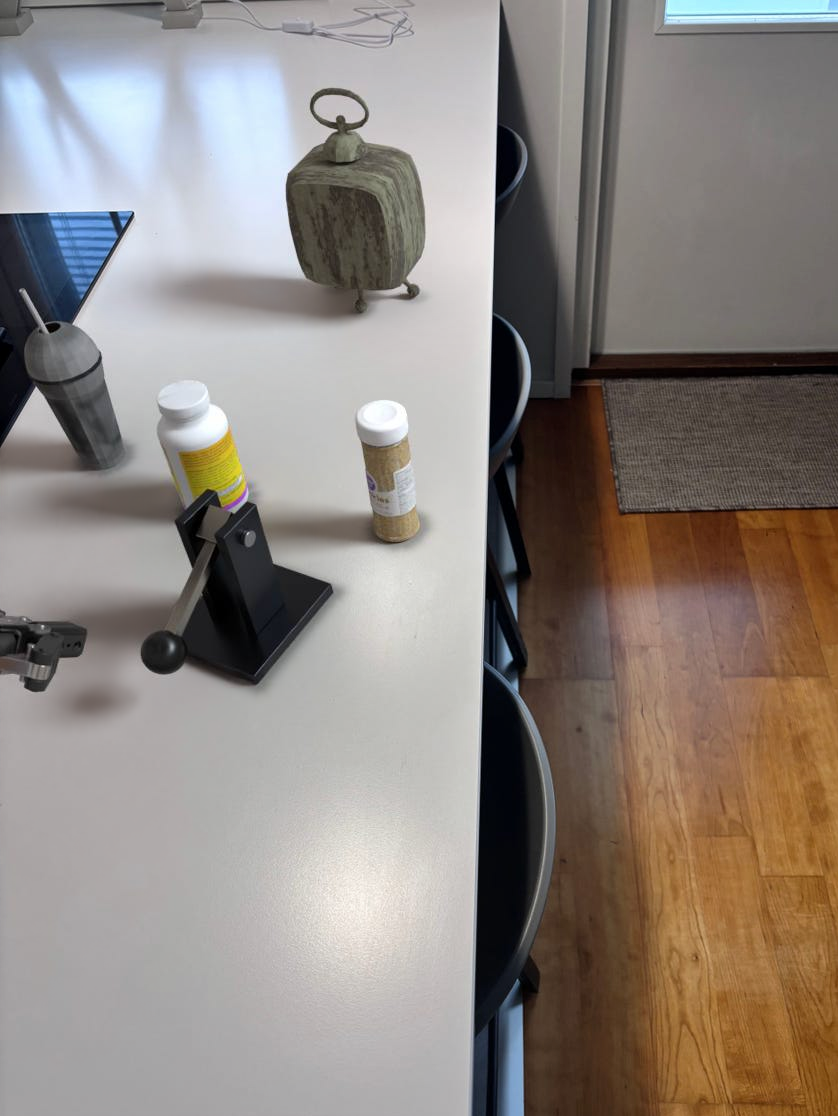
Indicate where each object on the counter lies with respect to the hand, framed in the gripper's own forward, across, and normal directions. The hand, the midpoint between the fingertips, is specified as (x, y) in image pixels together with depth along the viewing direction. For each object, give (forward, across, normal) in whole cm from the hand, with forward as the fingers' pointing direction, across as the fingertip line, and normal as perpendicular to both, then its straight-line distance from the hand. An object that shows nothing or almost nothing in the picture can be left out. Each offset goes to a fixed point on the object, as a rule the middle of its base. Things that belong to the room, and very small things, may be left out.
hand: (76, 639), depth 69 cm
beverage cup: (+30, +29, -11) cm, 43 cm away
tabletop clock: (+57, +19, -38) cm, 71 cm away
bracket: (+21, 0, -2) cm, 21 cm away
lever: (+13, 0, -3) cm, 13 cm away
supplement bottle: (+29, +13, -10) cm, 34 cm away
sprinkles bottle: (+32, -6, -13) cm, 35 cm away
